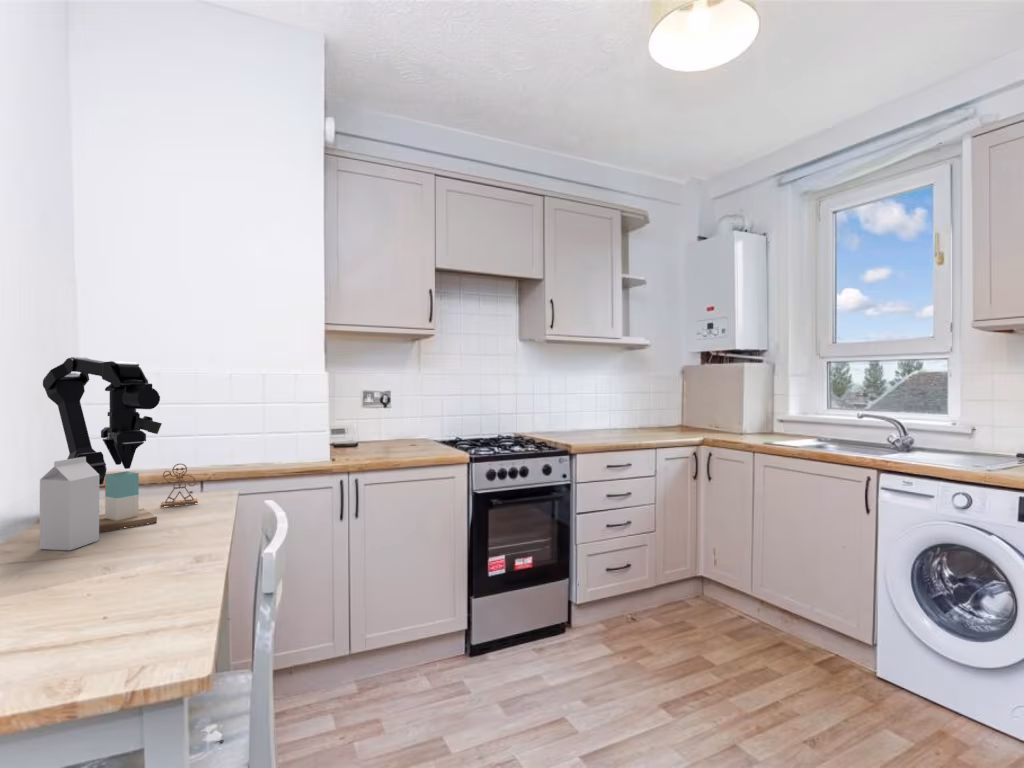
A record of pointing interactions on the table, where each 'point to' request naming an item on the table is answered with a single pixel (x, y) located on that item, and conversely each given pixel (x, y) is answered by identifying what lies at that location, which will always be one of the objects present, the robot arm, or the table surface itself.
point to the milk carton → (69, 505)
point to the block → (121, 495)
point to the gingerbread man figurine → (179, 502)
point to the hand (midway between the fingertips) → (122, 466)
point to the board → (126, 521)
